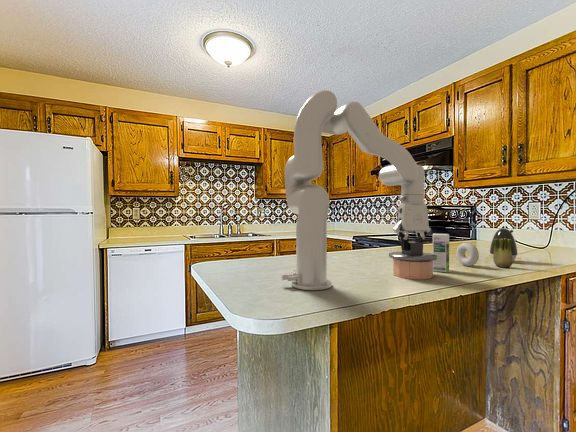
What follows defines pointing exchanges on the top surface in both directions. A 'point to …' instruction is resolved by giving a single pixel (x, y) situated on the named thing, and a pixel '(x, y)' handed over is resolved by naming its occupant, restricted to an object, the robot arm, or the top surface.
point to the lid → (413, 253)
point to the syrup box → (441, 252)
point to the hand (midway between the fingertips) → (412, 249)
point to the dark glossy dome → (501, 235)
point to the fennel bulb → (503, 253)
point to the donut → (472, 254)
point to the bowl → (413, 269)
